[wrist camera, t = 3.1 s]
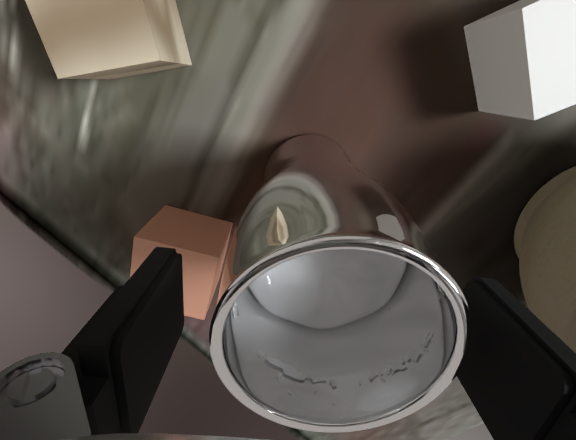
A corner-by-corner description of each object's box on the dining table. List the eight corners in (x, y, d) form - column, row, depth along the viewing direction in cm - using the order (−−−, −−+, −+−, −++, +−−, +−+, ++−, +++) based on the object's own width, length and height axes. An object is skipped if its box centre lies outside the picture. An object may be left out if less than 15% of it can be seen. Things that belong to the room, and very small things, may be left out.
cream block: (462, 26, 18) (522, 8, 13) (555, -17, 17) (653, -53, 12) (477, 111, 20) (534, 120, 15) (562, 75, 19) (649, 74, 14)
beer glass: (276, 234, 23) (256, 455, 10) (243, 145, 21) (148, 276, 7) (368, 209, 22) (489, 413, 9) (345, 112, 20) (472, 186, 6)
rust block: (165, 204, 22) (133, 236, 18) (233, 222, 23) (218, 257, 18) (157, 260, 24) (127, 302, 20) (220, 276, 25) (204, 320, 20)
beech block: (79, -20, 17) (1, -56, 12) (166, -38, 17) (118, -82, 12) (114, 79, 19) (57, 78, 14) (192, 65, 19) (160, 60, 14)
